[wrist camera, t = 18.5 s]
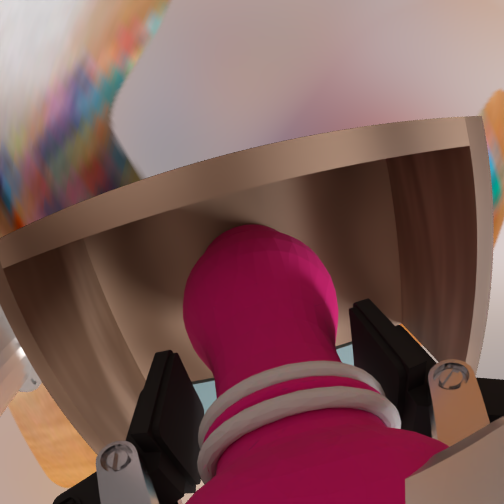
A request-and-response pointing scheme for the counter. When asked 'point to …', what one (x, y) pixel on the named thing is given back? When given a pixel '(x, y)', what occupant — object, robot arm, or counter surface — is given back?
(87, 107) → the counter surface
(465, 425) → the robot arm
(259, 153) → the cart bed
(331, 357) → the pepper mill
